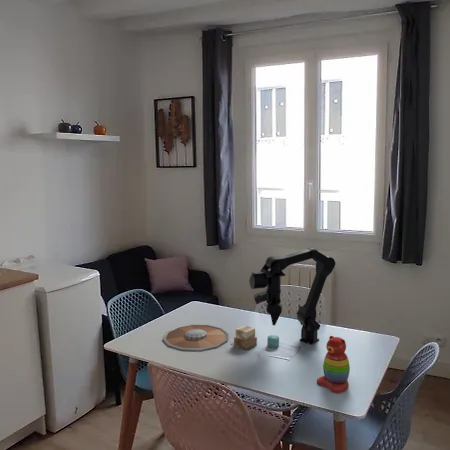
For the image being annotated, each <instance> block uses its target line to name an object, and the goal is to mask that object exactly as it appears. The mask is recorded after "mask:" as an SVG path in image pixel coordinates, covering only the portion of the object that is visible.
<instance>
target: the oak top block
mask: <svg viewBox="0 0 450 450" xmlns="http://www.w3.org/2000/svg"><path fill="white" fill-rule="evenodd" d="M235 337H236V338H238V339H241V340H244V341H248V340H250V339H253V338H255V337H256V328H255V327H252V326H248V325H245V324H244V325H242V326H239V327H237V328H235Z"/></svg>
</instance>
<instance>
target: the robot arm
mask: <svg viewBox="0 0 450 450" xmlns="http://www.w3.org/2000/svg"><path fill="white" fill-rule="evenodd" d="M308 260H313V261H314V262H315V276H314V279H313V281H312V284H311V287H310V290H309V291H308V296H307V299H306V301H305V303H304V304H303V305H299V306H298V310H297V311H296V318H297V321H298V322H299V323H300V325H301V331H300V332H301V333H300V338H299V341H300V342H304V343H307V344H310V345H313V344H315V343H317V342H319V341H320V338H319V337H318V332H319V330H320V328H321V324H320V323H319V322H317V321H316V320H317V306H318V302H319V299H320V297H321V293H322V292H323V288H324V287H325V283H326V280H327V279H328V277H329V275H330V274H332V272H334V268H335V267H336V261H335V259H334V258H333V257H332V256H328V255H326V254H323V253H321V252H320V251H318V249H315V248H313V247H309V248H307V249H303V250H300V251H296V252H293V253H290V254H289V253H288V254H287V255H275V256H274V255H273V256H269V257H267V258H266V260H265V263H264V265H263V266H262V268H261V269H260V272H251V275H250V277H249V280H248V281H249V282H248V283H249V287H250V288H251V289H252V290H256V289H264V288H266V290H264V291H260V292H257V293H254V294H253V298H254V302H255V304H256V305H260V303H264V302H266V313H268V314H269V316H270V319H271V324H272V325H271V326H276V325H277V322H278V320H279V317H280V315H281V314H282V313H283V307H282V304H281V302H282V301H281V300H282V299H281V293H282V289H281V279H282V278H281V277H285V276H286V274H285V273H284V272H283V270H285V269H286V268H288V267H289V266H292V265H295V264H299V263H302V262H305V261H308Z"/></svg>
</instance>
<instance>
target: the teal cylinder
mask: <svg viewBox="0 0 450 450" xmlns="http://www.w3.org/2000/svg"><path fill="white" fill-rule="evenodd" d="M266 341H267V344H266V346H267V347H268V348H269V349H278V348H279V347H280V336H278V335H276V334H275V335H273V334H271V335H270V334H269V335H268V336H267V340H266Z"/></svg>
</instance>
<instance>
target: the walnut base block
mask: <svg viewBox="0 0 450 450" xmlns="http://www.w3.org/2000/svg"><path fill="white" fill-rule="evenodd" d="M257 342H258V338H257V336H255V338H253V339H250V340H248V341H244V340H241V339H238V338H236V336H235V337H233V346H234V347H236V348H239V349H241V350H244V351H248V350H250V349H252V348H255V347H257V346H258V345H257V344H258V343H257Z"/></svg>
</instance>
